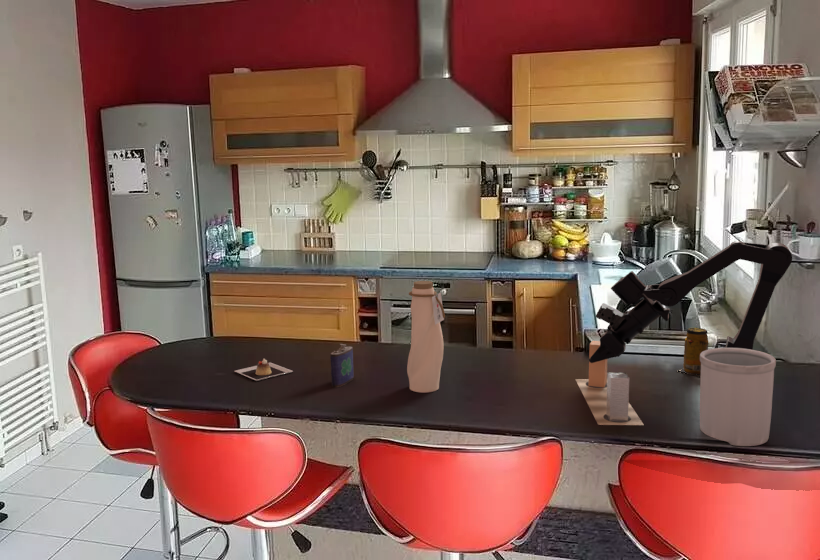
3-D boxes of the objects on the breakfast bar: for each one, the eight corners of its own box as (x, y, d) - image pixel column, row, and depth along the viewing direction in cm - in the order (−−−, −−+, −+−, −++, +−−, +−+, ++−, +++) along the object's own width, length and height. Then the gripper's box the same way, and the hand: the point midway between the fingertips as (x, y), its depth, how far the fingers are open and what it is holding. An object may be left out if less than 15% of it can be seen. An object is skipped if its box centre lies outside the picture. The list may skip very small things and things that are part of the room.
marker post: (606, 382, 194) (608, 341, 192) (604, 387, 190) (605, 345, 188) (591, 381, 196) (592, 340, 194) (588, 385, 192) (589, 344, 190)
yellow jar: (690, 366, 210) (692, 325, 208) (719, 373, 204) (721, 330, 202) (676, 371, 206) (678, 329, 204) (705, 378, 199) (707, 335, 197)
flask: (348, 377, 205) (346, 339, 203) (357, 378, 204) (356, 340, 202) (329, 386, 197) (327, 347, 195) (338, 388, 196) (337, 348, 194)
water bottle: (449, 384, 198) (449, 280, 193) (442, 394, 189) (441, 286, 184) (412, 381, 200) (411, 278, 195) (403, 391, 192) (401, 284, 187)
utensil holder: (683, 435, 161) (687, 356, 158) (713, 417, 171) (717, 343, 168) (753, 454, 150) (759, 370, 147) (781, 433, 161) (787, 355, 158)
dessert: (233, 374, 211) (233, 358, 210) (270, 366, 218) (270, 350, 218) (255, 384, 202) (255, 367, 201) (293, 374, 210) (292, 358, 209)
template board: (644, 428, 165) (644, 424, 165) (598, 428, 165) (598, 424, 165) (613, 382, 197) (613, 379, 197) (575, 382, 198) (575, 379, 198)
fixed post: (627, 420, 167) (629, 378, 165) (609, 420, 167) (611, 377, 166) (623, 414, 171) (625, 372, 169) (606, 414, 171) (607, 372, 170)
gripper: (621, 287, 196) (577, 325, 202) (611, 301, 179) (564, 342, 185) (651, 319, 194) (606, 356, 200) (644, 336, 177) (595, 376, 183)
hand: (592, 356), depth 192 cm, fingers open, 9 cm apart
